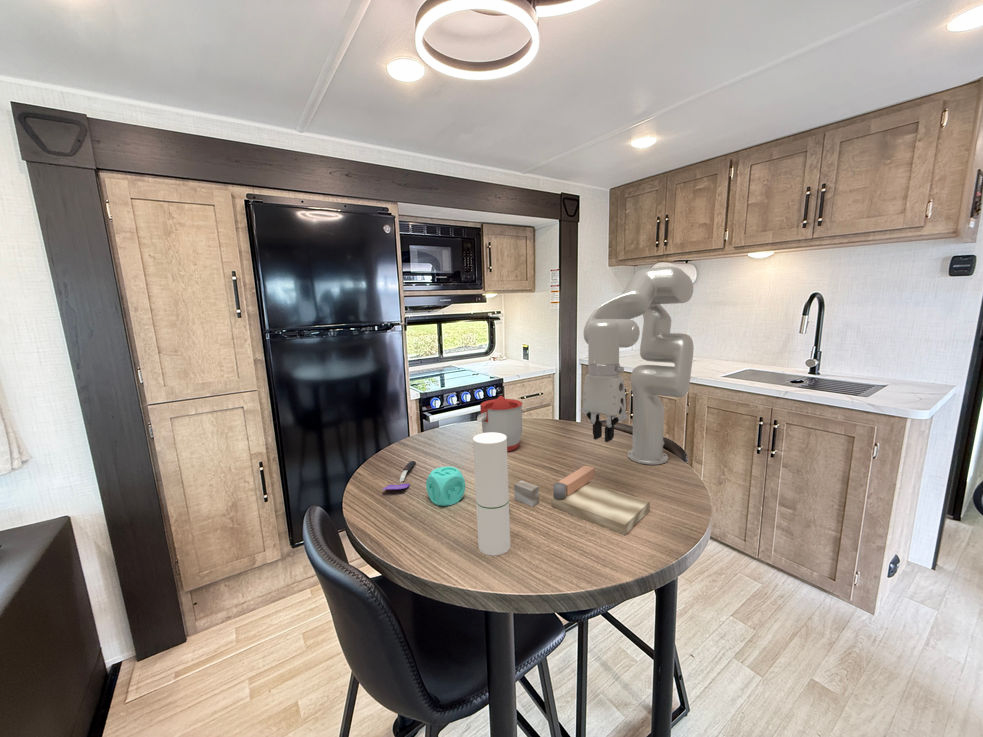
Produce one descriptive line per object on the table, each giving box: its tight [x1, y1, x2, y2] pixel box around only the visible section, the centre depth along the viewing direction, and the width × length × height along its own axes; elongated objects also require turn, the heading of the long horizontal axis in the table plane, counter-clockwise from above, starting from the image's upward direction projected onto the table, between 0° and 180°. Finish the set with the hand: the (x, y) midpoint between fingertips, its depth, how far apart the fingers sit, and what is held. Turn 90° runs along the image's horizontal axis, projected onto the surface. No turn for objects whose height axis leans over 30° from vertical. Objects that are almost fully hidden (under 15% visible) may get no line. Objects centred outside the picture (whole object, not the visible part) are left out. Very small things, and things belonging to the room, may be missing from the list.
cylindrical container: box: [472, 432, 511, 557], centre depth 85 cm, size 7×7×25 cm
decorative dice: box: [425, 466, 466, 507], centre depth 108 cm, size 8×8×8 cm
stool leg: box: [552, 465, 596, 499], centre depth 106 cm, size 17×3×3 cm, turn 136°
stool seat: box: [513, 480, 651, 536], centre depth 102 cm, size 17×30×4 cm, turn 46°
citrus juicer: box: [476, 395, 523, 452], centre depth 145 cm, size 16×17×20 cm
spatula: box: [382, 460, 417, 491], centre depth 124 cm, size 24×7×2 cm, turn 177°
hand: (603, 438), depth 102 cm, fingers open, 2 cm apart
